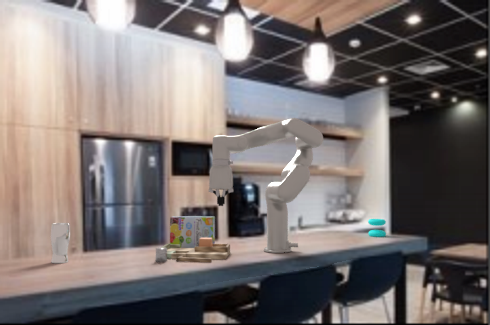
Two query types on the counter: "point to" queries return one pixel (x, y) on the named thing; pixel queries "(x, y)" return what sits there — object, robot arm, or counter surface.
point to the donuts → (377, 223)
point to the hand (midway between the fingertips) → (220, 205)
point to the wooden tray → (198, 251)
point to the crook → (193, 259)
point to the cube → (206, 242)
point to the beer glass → (60, 242)
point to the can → (161, 254)
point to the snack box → (191, 230)
